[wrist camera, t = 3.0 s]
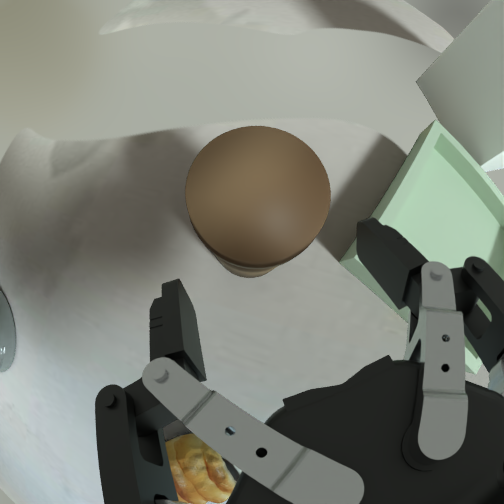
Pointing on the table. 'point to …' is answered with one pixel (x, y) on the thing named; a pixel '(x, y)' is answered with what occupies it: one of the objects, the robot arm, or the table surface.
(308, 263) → the table surface
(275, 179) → the pepper mill
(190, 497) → the pastry
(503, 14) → the milk
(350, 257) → the bin
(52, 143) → the table surface
